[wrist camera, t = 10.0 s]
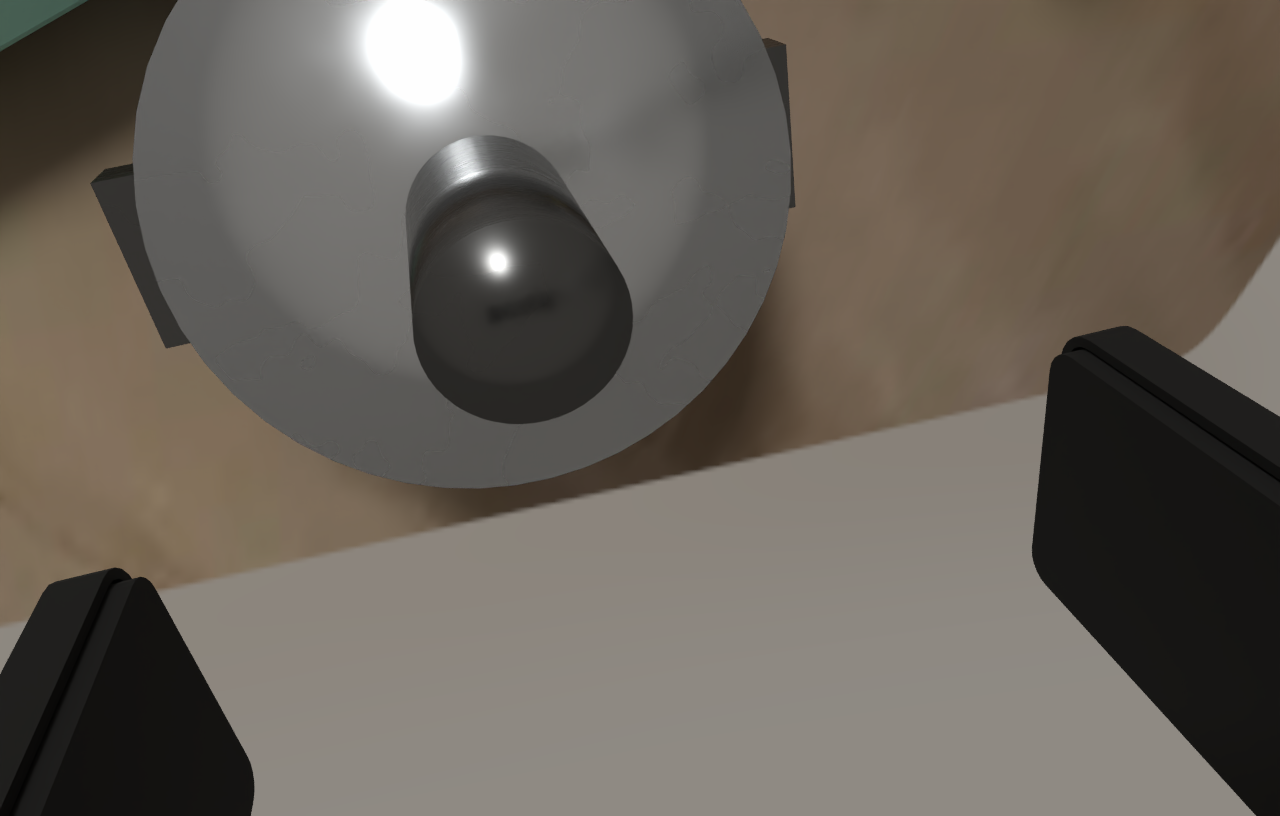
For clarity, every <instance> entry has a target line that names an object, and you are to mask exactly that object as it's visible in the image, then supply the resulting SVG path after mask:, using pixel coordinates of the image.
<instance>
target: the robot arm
mask: <svg viewBox="0 0 1280 816" xmlns="http://www.w3.org/2000/svg"><path fill="white" fill-rule="evenodd" d="M1032 557H1033V561H1034V565H1035V568H1036V570H1037V572H1038V574H1039V576H1040V578H1041V579H1042V581H1043V582H1044V583H1045V584H1046V586H1047V587H1048V588H1049V589H1050V590H1051V591H1052V592H1053V593H1054V594H1055V596H1056V597H1058V599H1059V600H1060V601H1061V602H1062V603H1063V604H1064V605H1065V606H1066V608H1068V610H1069V611H1070V612H1071V613H1072V614H1073V615H1074V616H1075V617H1076V619H1077V620H1079V622H1080V623H1081V624H1082V625H1083V626H1084V627H1085V628H1086V630H1088V632H1089V633H1090V634H1091V635H1092V636H1093V637H1094V638H1095V639H1096V640H1097V642H1098V643H1099V644H1100V645H1101V646H1102V647H1103V648H1104V649H1105V650H1106V651H1107V652H1108V654H1109V655H1110V656H1111V657H1112V658H1113V659H1114V660H1115V661H1116V662H1117V664H1119V666H1120V667H1121V668H1122V669H1123V670H1124V671H1125V672H1126V673H1127V675H1129V677H1130V678H1131V679H1132V680H1133V681H1134V682H1135V683H1136V684H1137V685H1138V686H1139V687H1140V689H1141V690H1142V691H1143V692H1144V693H1145V694H1146V695H1147V696H1148V698H1149V699H1151V701H1152V702H1153V703H1154V704H1155V705H1156V706H1157V707H1158V708H1159V710H1160V711H1161V712H1162V713H1163V714H1164V715H1165V716H1166V717H1167V718H1168V719H1169V720H1170V722H1171V723H1172V724H1173V725H1174V726H1175V727H1176V728H1177V729H1178V730H1179V731H1180V733H1181V734H1182V735H1183V736H1184V737H1185V738H1186V739H1187V740H1188V741H1189V743H1190V744H1191V745H1192V746H1193V747H1194V748H1195V749H1196V750H1197V751H1198V752H1199V753H1200V755H1202V757H1203V758H1204V759H1205V760H1206V761H1207V762H1208V763H1209V764H1210V766H1211V767H1212V768H1213V769H1214V770H1215V771H1216V772H1217V773H1218V774H1219V775H1220V776H1221V778H1222V779H1223V780H1224V781H1225V782H1226V783H1227V784H1228V785H1229V786H1230V787H1231V789H1233V791H1234V792H1235V793H1236V794H1237V795H1238V796H1239V797H1240V798H1241V800H1242V801H1243V802H1244V803H1245V804H1246V805H1247V806H1248V807H1249V808H1250V809H1251V811H1253V813H1254V814H1255V815H1256V816H1280V417H1279V416H1278V415H1276V414H1274V413H1273V412H1271V411H1269V410H1268V409H1266V408H1264V407H1263V406H1261V405H1259V404H1258V403H1256V402H1255V401H1253V400H1251V399H1250V398H1248V397H1246V396H1245V395H1243V394H1241V393H1240V392H1238V391H1237V390H1235V389H1233V388H1232V387H1230V386H1228V385H1227V384H1225V383H1223V382H1222V381H1220V380H1218V379H1217V378H1215V377H1213V376H1212V375H1210V374H1208V373H1207V372H1205V371H1204V370H1202V369H1200V368H1198V367H1197V366H1195V365H1194V364H1192V363H1190V362H1189V361H1187V360H1186V359H1184V358H1182V357H1181V356H1179V355H1177V354H1176V353H1174V352H1172V351H1171V350H1169V349H1167V348H1166V347H1164V346H1162V345H1161V344H1159V343H1158V342H1156V341H1154V340H1153V339H1151V338H1149V337H1148V336H1146V335H1144V334H1143V333H1141V332H1139V331H1138V330H1136V329H1134V328H1131V327H1129V326H1120V327H1115V328H1111V329H1107V330H1103V331H1099V332H1094V333H1090V334H1086V335H1082V336H1078V337H1074V338H1072V339H1071V340H1069V341H1068V342H1067V343H1066V345H1065V346H1064V348H1063V351H1062V354H1061V355H1058V356H1057V357H1055V358H1054V360H1053V362H1052V363H1051V368H1050V374H1049V384H1048V394H1047V404H1046V414H1045V424H1044V434H1043V444H1042V454H1041V464H1040V474H1039V484H1038V493H1037V503H1036V514H1035V523H1034V534H1033V543H1032ZM253 800H254V778H253V771H252V767H251V764H250V761H249V759H248V757H247V755H246V753H245V751H244V749H243V747H242V746H241V744H240V742H239V740H238V739H237V737H236V735H235V733H234V732H233V730H232V727H231V726H230V724H229V722H228V720H227V719H226V717H225V715H224V713H223V711H222V709H221V707H220V706H219V704H218V702H217V700H216V698H215V697H214V695H213V693H212V691H211V689H210V688H209V686H208V684H207V682H206V680H205V678H204V676H203V675H202V673H201V671H200V669H199V667H198V666H197V664H196V662H195V660H194V658H193V656H192V655H191V653H190V651H189V649H188V647H187V646H186V644H185V642H184V641H183V638H182V636H181V635H180V633H179V631H178V629H177V628H176V626H175V624H174V622H173V620H172V618H171V616H170V615H169V613H168V611H167V609H166V607H165V606H164V604H163V602H162V600H161V598H160V596H159V595H158V593H157V591H156V589H155V588H154V586H153V585H152V583H151V582H150V581H149V580H148V579H146V578H144V577H138V578H134V579H132V578H131V577H130V575H129V574H128V573H126V572H125V571H124V570H123V569H120V568H111V569H107V570H103V571H98V572H94V573H90V574H86V575H82V576H77V577H73V578H69V579H65V580H61V581H57V582H54V583H52V584H50V585H48V587H47V588H46V589H45V591H44V592H43V593H42V595H41V597H40V599H39V601H38V603H37V605H36V607H35V609H34V611H33V613H32V614H31V616H30V618H29V620H28V622H27V624H26V626H25V628H24V630H23V632H22V634H21V635H20V637H19V639H18V641H17V643H16V645H15V647H14V649H13V651H12V653H11V655H10V657H9V659H8V661H7V662H6V664H5V666H4V668H3V670H2V672H1V674H0V816H251V811H252V805H253Z"/></svg>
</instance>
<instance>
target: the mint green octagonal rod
mask: <svg viewBox="0 0 1280 816" xmlns="http://www.w3.org/2000/svg"><path fill="white" fill-rule="evenodd" d="M86 1H88V0H0V51H2V50H3V49H5V48H7V47H9V46H10V45H12V44H14V43H16V42H17V41H19V40H21V39H22V38H24V37H26V36H28V35H29V34H31V33H33V32H35V31H36V30H38V29H40V28H41V27H43V26H45V25H47V24H48V23H50V22H52V21H53V20H55V19H57V18H59V17H60V16H62V15H64V14H66V13H67V12H69V11H71V10H72V9H74V8H76V7H78V6H79V5H81V4H83V3H85V2H86Z"/></svg>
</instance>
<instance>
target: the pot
mask: <svg viewBox="0 0 1280 816" xmlns="http://www.w3.org/2000/svg"><path fill="white" fill-rule="evenodd" d="M762 41H763V44H764V46H765V49H766V51H767V54H768V56H769V59H770V61H771V64H772V66H773V69H774V71H775V74H776V77H777V81H778V85H779V89H780V93H781V97H782V101H783V105H784V109H785V113H786V119H787V127H788V135H789V144H790V152H791V194H790V202H789V208H793V207H795V193H794V176H793V158H792V141H791V124H790V107H789V89H788V72H787V55H786V44H783V43H780V42H778V41H775V40H772V39H769V38H765V39H762ZM90 184H91V186H92V188H93V190H94V192H95V195H96V197H97V199H98V201H99V203H100V205H101V208H102V210H103V212H104V214H105V216H106V219H107V221H108V223H109V225H110V227H111V229H112V232H113V234H114V236H115V238H116V240H117V243H118V245H119V247H120V249H121V251H122V253H123V256H124V258H125V260H126V262H127V264H128V267H129V269H130V271H131V273H132V275H133V278H134V280H135V282H136V284H137V286H138V288H139V291H140V293H141V295H142V297H143V299H144V302H145V304H146V306H147V308H148V310H149V312H150V315H151V317H152V319H153V321H154V323H155V326H156V328H157V330H158V332H159V334H160V337H161V339H162V341H163V343H164V345H165V347H166V348H170V347H175V346H179V345H183V344H188V343H190V341H189V340H188V339H187V337H186V336H185V334H184V333H183V332H182V330H181V329H180V327H179V325H178V323H177V321H176V319H175V317H174V315H173V313H172V312H171V310H170V308H169V306H168V304H167V302H166V300H165V298H164V296H163V295H162V293H161V291H160V288H159V285H158V283H157V280H156V277H155V274H154V272H153V269H152V266H151V263H150V261H149V258H148V255H147V253H146V250H145V246H144V241H143V236H142V232H141V227H140V222H139V218H138V213H137V208H136V201H135V186H134V172H133V164H129V165H124V166H119V167H114V168H109V169H105V170H104V171H103V172H102V173H100V174H99V175H98V176H97V177H96V178H95V179H94V180H93V181H92V182H91V183H90Z"/></svg>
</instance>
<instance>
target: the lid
mask: <svg viewBox="0 0 1280 816" xmlns="http://www.w3.org/2000/svg"><path fill="white" fill-rule="evenodd" d="M133 172H134V186H135V201H136V208H137V213H138V218H139V222H140V227H141V232H142V236H143V241H144V246H145V250H146V253H147V255H148V258H149V261H150V263H151V266H152V269H153V272H154V274H155V277H156V280H157V283H158V285H159V288H160V291H161V293H162V295H163V296H164V298H165V300H166V302H167V304H168V306H169V308H170V310H171V312H172V313H173V315H174V317H175V319H176V321H177V323H178V325H179V327H180V329H181V330H182V332H183V333H184V334H185V336H186V337H187V339H188V340H189V341H190V343H191V344H192V346H193V347H194V348H195V350H196V351H197V353H198V354H199V356H200V357H201V358H202V360H203V361H204V363H205V364H206V365H207V366H208V367H209V368H210V369H211V370H212V372H213V373H214V374H215V375H216V376H217V377H218V378H219V379H220V380H221V381H222V382H223V384H224V385H225V386H226V387H227V388H228V389H229V390H230V391H231V392H232V393H233V394H234V395H235V396H236V397H237V398H238V399H240V400H241V401H242V402H243V403H244V404H245V405H247V406H248V407H249V408H250V409H251V410H252V411H254V412H255V413H256V414H257V415H258V416H260V417H261V418H262V419H263V420H264V421H266V422H267V423H269V424H270V425H272V426H273V427H275V428H276V429H278V430H279V431H281V432H282V433H284V434H285V435H287V436H288V437H290V438H291V439H293V440H294V441H296V442H297V443H299V444H301V445H303V446H305V447H307V448H309V449H311V450H313V451H315V452H317V453H319V454H321V455H323V456H325V457H327V458H329V459H331V460H333V461H335V462H338V463H341V464H344V465H346V466H349V467H352V468H355V469H357V470H360V471H363V472H365V473H368V474H372V475H376V476H380V477H384V478H388V479H392V480H396V481H400V482H404V483H410V484H418V485H426V486H434V487H441V488H491V487H502V486H513V485H520V484H525V483H530V482H535V481H540V480H545V479H550V478H553V477H557V476H560V475H563V474H566V473H569V472H572V471H575V470H579V469H582V468H585V467H587V466H590V465H592V464H594V463H596V462H599V461H601V460H603V459H606V458H608V457H610V456H612V455H615V454H617V453H619V452H621V451H622V450H624V449H626V448H627V447H629V446H631V445H633V444H634V443H636V442H638V441H640V440H641V439H643V438H645V437H646V436H648V435H650V434H651V433H652V432H654V431H655V430H656V429H658V428H659V427H661V426H662V425H663V424H665V423H666V422H667V421H669V420H670V419H671V418H673V417H674V416H675V415H677V414H678V413H679V412H680V411H681V410H682V409H683V408H684V407H686V406H687V405H688V404H689V403H690V402H691V401H692V400H693V399H694V398H695V397H696V396H697V395H699V394H700V393H701V392H702V391H703V390H704V389H705V387H706V386H707V385H708V384H709V383H710V382H711V381H712V379H713V378H714V377H715V376H716V375H717V374H718V372H719V371H720V370H721V369H722V368H723V367H724V366H725V364H726V363H727V362H728V360H729V359H730V357H731V356H732V354H733V353H734V351H735V350H736V348H737V347H738V346H739V344H740V343H741V341H742V340H743V338H744V337H745V335H746V334H747V332H748V330H749V328H750V326H751V324H752V322H753V321H754V319H755V317H756V315H757V313H758V311H759V309H760V307H761V305H762V303H763V301H764V299H765V296H766V294H767V291H768V288H769V286H770V283H771V281H772V278H773V275H774V273H775V270H776V268H777V264H778V260H779V256H780V252H781V248H782V244H783V240H784V236H785V232H786V226H787V218H788V210H789V202H790V194H791V152H790V144H789V135H788V127H787V119H786V113H785V109H784V105H783V101H782V97H781V93H780V89H779V85H778V81H777V77H776V74H775V71H774V69H773V66H772V64H771V61H770V59H769V56H768V54H767V51H766V49H765V46H764V44H763V41H762V39H761V36H760V34H759V32H758V30H757V29H756V27H755V25H754V23H753V21H752V20H751V18H750V16H749V14H748V13H747V11H746V9H745V7H744V5H743V4H742V2H741V0H178V1H177V3H176V4H175V6H174V8H173V9H172V11H171V13H170V14H169V16H168V18H167V19H166V21H165V24H164V26H163V28H162V31H161V33H160V36H159V38H158V41H157V43H156V46H155V48H154V51H153V53H152V55H151V58H150V60H149V63H148V65H147V69H146V74H145V78H144V82H143V86H142V91H141V95H140V99H139V103H138V107H137V112H136V123H135V136H134V148H133Z"/></svg>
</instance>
